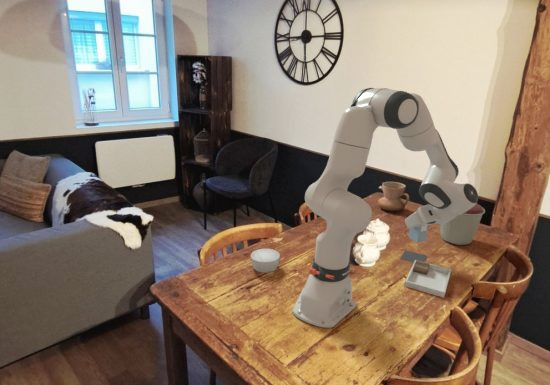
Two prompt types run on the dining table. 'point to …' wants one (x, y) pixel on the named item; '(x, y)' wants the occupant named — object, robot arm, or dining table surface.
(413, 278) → the tray
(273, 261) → the ramekin
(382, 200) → the ceramic jug
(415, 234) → the blue box
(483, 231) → the dining table surface
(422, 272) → the walnut block
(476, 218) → the canister
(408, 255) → the mat
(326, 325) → the robot arm
